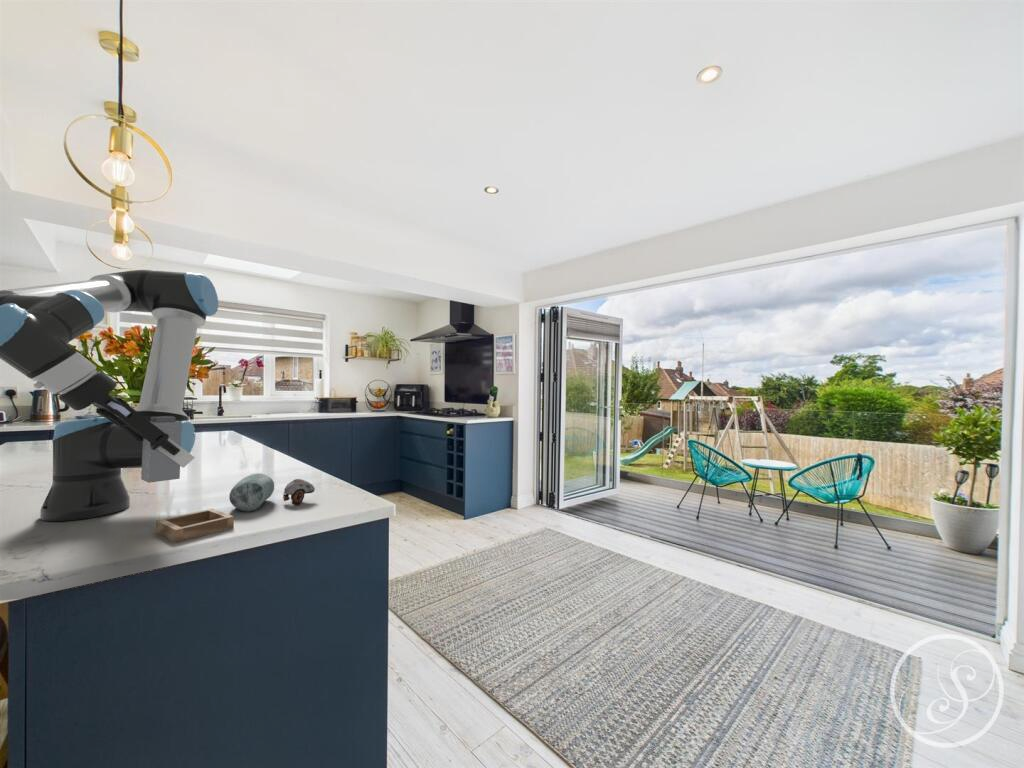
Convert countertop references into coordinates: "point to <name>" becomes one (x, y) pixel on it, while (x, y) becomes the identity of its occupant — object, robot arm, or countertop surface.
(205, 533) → the tray
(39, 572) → the countertop surface
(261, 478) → the mottled river stone
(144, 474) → the grey upright rectangular pillar
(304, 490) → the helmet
